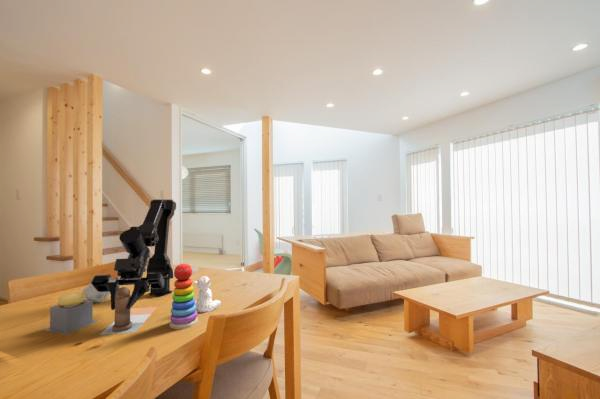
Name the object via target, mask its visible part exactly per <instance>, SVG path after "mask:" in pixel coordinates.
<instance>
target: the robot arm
mask: <svg viewBox="0 0 600 399" xmlns="http://www.w3.org/2000/svg"><path fill="white" fill-rule="evenodd" d="M149 205H150V206H149V209H148V210H147V212H146V215H145V217H144V221H143V222H142V224H140V225H138V226H130V228H128V229H126V230H124V231H123V232H122V233H120V235H119V241H120V242H121V245H122V247H123V248H124V250H125V252H126V253H128V255H127V258H116V259H115V264H114V268H113V271H116V272H117V276H118V277H119V278H118V277H112V276H111V275H110V274H109V273H108V274H96V275H95V276H93V277H92V280H91V281H90V283H91V284H92V285H93V286H94V287H95V289H96V290H97V291H98V292H110V309H111V311H115V297H116V296H115V294H116V291H117V290H118V289H119V288H121V286H133V290H132V292H131V294H130V300H129V302H128V306H127V308H128V309H131V308H133V306H134V305H135V304H136V303H137V301H138V300H139V299H141V297H142V296H144V295H145V294H146V293H147V294H148V296H154V297H162V296H165V295H168V294H171V293H173V290H170V287H171V286H170V284H171V283H170V281H171V279H174V270H173V267H172V265H171V264H172V263H171V259H170V257H169V256H168V253H167V252H168V242H169V231H170V220H171V219H172V218H173V217H174V215H175V212H176V209H177V202H176V201H174V200H173V199H162V198H161V199H158V198H157V199H155V198H154V199H152V200H151V201H150V204H149ZM149 247H150V248H151V247H154V251H153V252H154V253H153V254H152V256H151V249H150V248H149ZM147 262H148V263H147ZM147 264H148V265H147ZM146 265H147V266H146ZM144 273H146V276H145V277H143V275H144Z"/></svg>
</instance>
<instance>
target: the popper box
mask: <svg viewBox="0 0 600 399" xmlns="http://www.w3.org/2000/svg"><path fill="white" fill-rule="evenodd" d="M93 304H94V303H93V302H92V301H87V300H85V301H84V302H82V303H80V305H77V306H74V307H70V308H66V307H64V306H59V305H58V304H56V305H54V306H50V308H49V312H50V313H49V327H48V328H46V329H44V331H45V332H52V333H54V334H55V333H56V334H61V335H67V334H71V333H73V332H76V331H78V330H80V329H83V328H85V327H88V326H90V325H93V324H95V323H97V322H99V320H93V316H94V315H93V312H94V310H93V308H94V307H93Z"/></svg>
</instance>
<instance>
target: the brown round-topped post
mask: <svg viewBox="0 0 600 399" xmlns="http://www.w3.org/2000/svg"><path fill="white" fill-rule="evenodd" d="M115 296H116V297H115V309H114V322H115V324H114V325H113V326H112V331H114V332H121V331H125V330H128V329H130V328H131V327H132V322H131V321H130V309H131V308H130V309H128V308H127V306H128V302H129V300H130V297H131V291H130V289H129V287H127V286H121V287H119V289H118V290H117V291H116V294H115Z"/></svg>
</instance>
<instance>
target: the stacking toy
mask: <svg viewBox="0 0 600 399" xmlns="http://www.w3.org/2000/svg"><path fill="white" fill-rule="evenodd" d="M192 274H193V269H192V266H191V265H190V264H188V263H179V264H178V265H177V266H176V267H175V268H174V270H173V277H174V278H175V279H176V280H175V281H174V282H173V286H174V289H173V293H174V294H173V295H172V300H173V301H172V302H171V306H172V307H171V309H170V313H171V316H170V322H169V324H168V326H169V327H170V328H171V329H174V330H183V329H188V328H189V329H190V328H192V327H194V326H195V325H197V324H198V323H199V318H198V313H199V312H197V311H196V306H195V302H196V299H195V298H194V297H195V293H194V286H193V280H192V279H191V276H192Z"/></svg>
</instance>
